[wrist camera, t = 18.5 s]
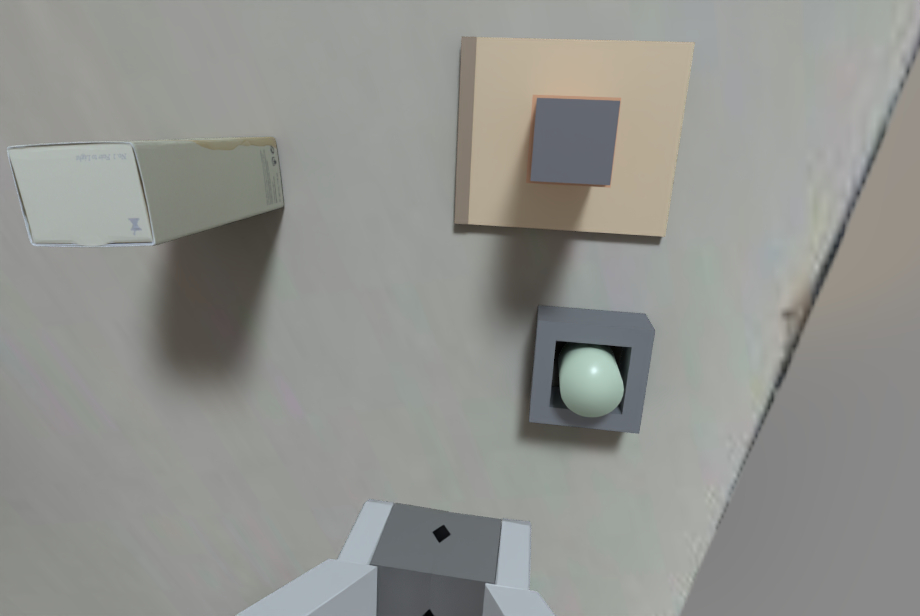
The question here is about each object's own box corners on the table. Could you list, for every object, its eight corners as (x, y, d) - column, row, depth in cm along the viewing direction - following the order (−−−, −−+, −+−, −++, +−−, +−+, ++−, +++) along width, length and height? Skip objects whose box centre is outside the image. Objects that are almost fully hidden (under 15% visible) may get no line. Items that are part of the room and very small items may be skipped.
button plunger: (611, 389, 35) (619, 420, 31) (555, 384, 35) (557, 414, 31) (617, 338, 34) (627, 363, 30) (560, 333, 34) (563, 357, 30)
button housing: (631, 409, 35) (639, 433, 33) (530, 399, 36) (529, 421, 33) (645, 313, 34) (655, 330, 31) (538, 305, 34) (537, 320, 31)
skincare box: (277, 136, 33) (139, 136, 22) (286, 210, 35) (159, 248, 23) (181, 139, 34) (-1, 141, 23) (193, 211, 36) (27, 248, 24)
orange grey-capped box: (594, 175, 31) (614, 190, 23) (529, 172, 31) (524, 185, 23) (602, 106, 30) (626, 95, 21) (534, 104, 30) (531, 92, 22)
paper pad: (662, 234, 32) (665, 237, 31) (456, 221, 33) (454, 223, 33) (691, 44, 29) (695, 41, 28) (463, 38, 30) (461, 36, 30)
